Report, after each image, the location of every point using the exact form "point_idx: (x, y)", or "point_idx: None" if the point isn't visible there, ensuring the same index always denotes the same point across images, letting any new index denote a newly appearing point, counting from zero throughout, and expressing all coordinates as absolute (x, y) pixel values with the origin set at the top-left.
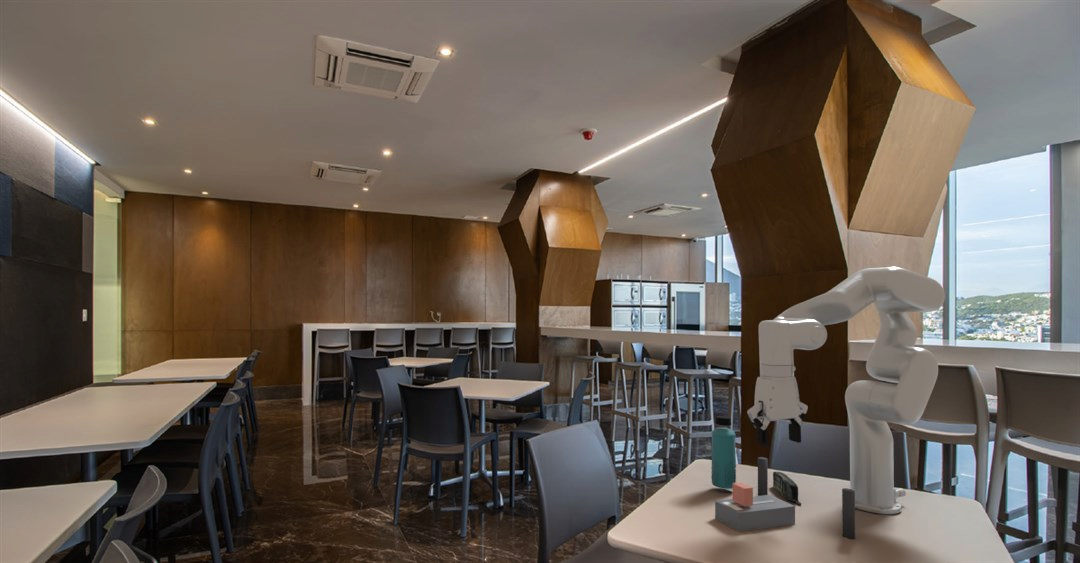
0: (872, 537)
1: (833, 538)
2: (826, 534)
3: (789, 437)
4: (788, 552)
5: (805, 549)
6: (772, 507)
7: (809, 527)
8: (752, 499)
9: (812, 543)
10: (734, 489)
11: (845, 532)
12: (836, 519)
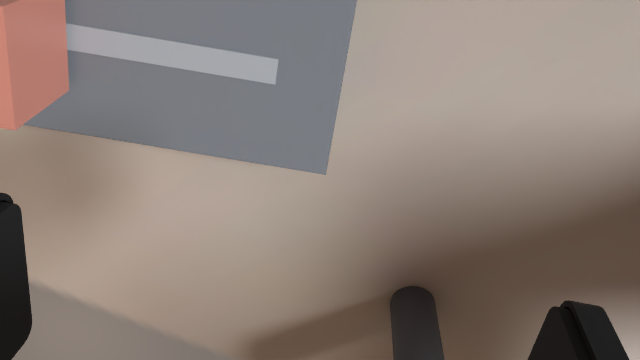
0: (490, 341)
1: (339, 287)
2: (351, 257)
3: (558, 330)
4: (67, 281)
5: (147, 293)
6: (185, 134)
7: (355, 187)
8: (51, 101)
9: (217, 278)
10: None
11: (391, 316)
12: (574, 187)
